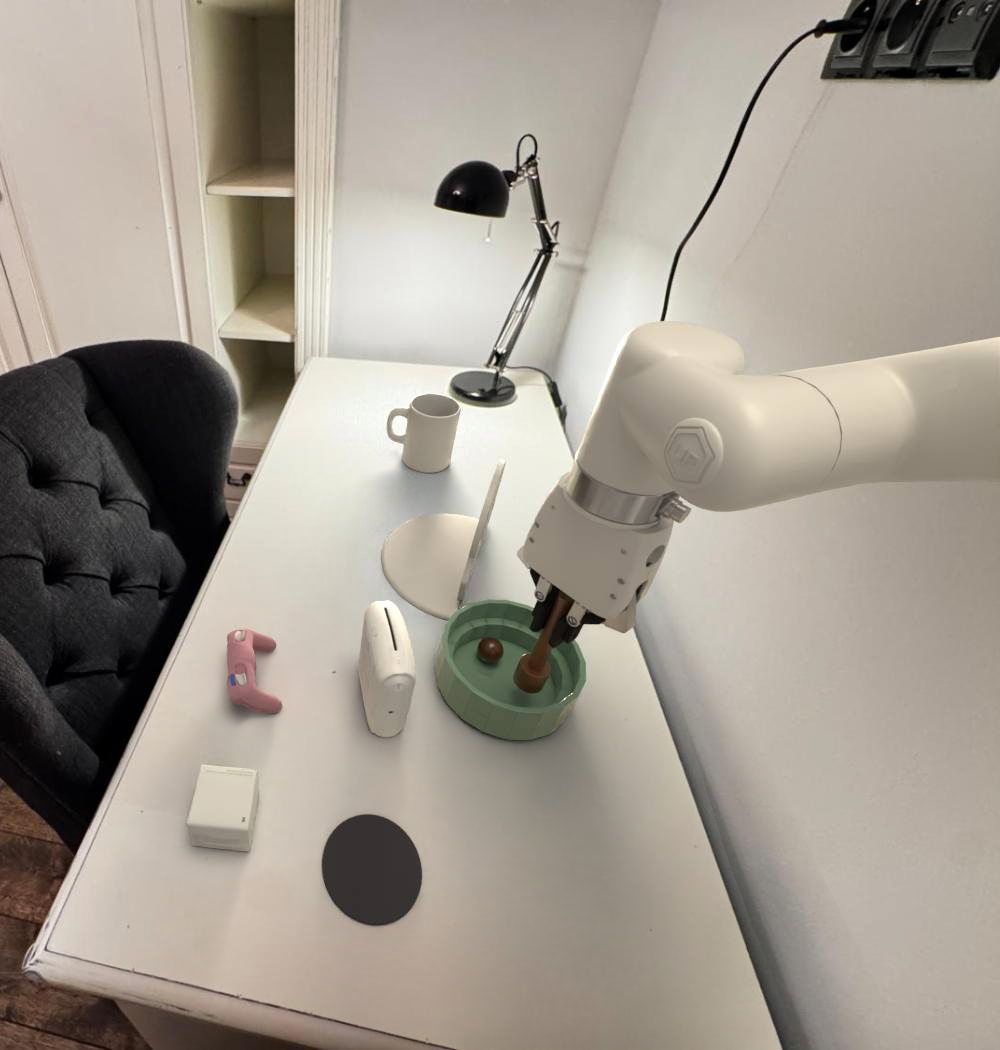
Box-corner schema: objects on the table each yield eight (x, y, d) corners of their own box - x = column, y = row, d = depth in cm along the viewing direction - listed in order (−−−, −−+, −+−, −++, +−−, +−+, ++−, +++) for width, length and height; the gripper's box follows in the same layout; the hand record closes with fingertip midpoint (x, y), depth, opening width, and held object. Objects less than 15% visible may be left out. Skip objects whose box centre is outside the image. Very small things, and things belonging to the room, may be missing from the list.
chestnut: (505, 660, 68) (511, 645, 66) (488, 672, 67) (494, 656, 65) (486, 643, 70) (492, 628, 68) (469, 654, 69) (474, 639, 67)
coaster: (442, 882, 51) (443, 881, 50) (363, 950, 47) (363, 949, 47) (378, 797, 56) (378, 795, 56) (303, 851, 53) (303, 850, 52)
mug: (453, 452, 104) (464, 397, 97) (446, 477, 98) (457, 421, 91) (388, 440, 107) (395, 386, 100) (378, 464, 101) (384, 409, 94)
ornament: (455, 623, 73) (483, 524, 63) (359, 590, 78) (369, 493, 67) (488, 524, 89) (516, 430, 78) (406, 501, 93) (421, 409, 82)
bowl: (596, 698, 65) (615, 667, 61) (506, 769, 59) (521, 739, 55) (494, 613, 75) (505, 581, 71) (407, 666, 68) (414, 635, 64)
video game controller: (247, 654, 71) (217, 624, 67) (279, 641, 70) (251, 610, 66) (250, 726, 64) (217, 698, 59) (286, 713, 63) (255, 683, 58)
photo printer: (407, 738, 61) (424, 669, 53) (368, 740, 61) (379, 672, 53) (389, 659, 69) (402, 589, 61) (354, 661, 69) (362, 591, 61)
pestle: (549, 684, 62) (593, 598, 53) (530, 699, 61) (571, 613, 52) (526, 664, 64) (564, 578, 55) (506, 677, 63) (542, 591, 54)
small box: (260, 791, 57) (258, 768, 54) (251, 853, 52) (248, 832, 49) (204, 786, 57) (199, 762, 54) (190, 847, 53) (183, 825, 50)
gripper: (745, 522, 42) (644, 670, 54) (565, 429, 52) (513, 571, 64) (690, 562, 39) (596, 709, 51) (509, 454, 48) (466, 599, 60)
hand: (550, 632), depth 57 cm, fingers closed on pestle, 1 cm apart
